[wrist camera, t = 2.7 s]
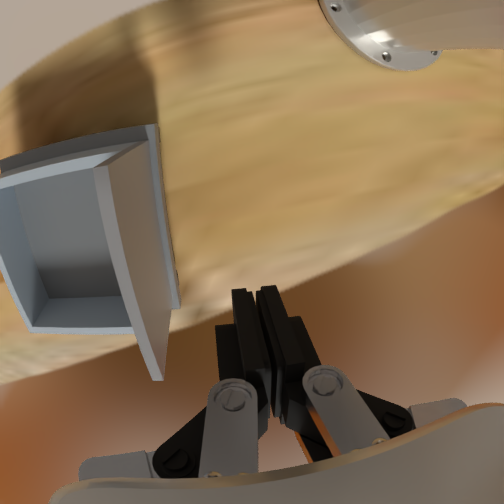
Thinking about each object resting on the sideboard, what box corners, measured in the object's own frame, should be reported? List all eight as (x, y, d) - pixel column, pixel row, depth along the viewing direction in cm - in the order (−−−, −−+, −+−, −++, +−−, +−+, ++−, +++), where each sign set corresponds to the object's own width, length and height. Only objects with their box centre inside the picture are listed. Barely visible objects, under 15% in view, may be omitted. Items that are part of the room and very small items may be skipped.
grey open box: (165, 120, 19) (115, 138, 9) (183, 276, 25) (174, 389, 15) (29, 148, 18) (-71, 196, 7) (64, 284, 24) (13, 378, 14)
